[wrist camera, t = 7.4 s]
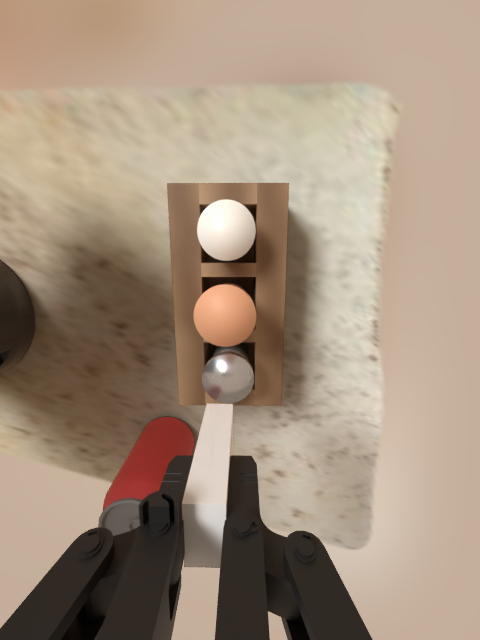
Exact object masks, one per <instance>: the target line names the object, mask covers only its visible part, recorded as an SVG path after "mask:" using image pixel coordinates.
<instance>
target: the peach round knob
mask: <svg viewBox="0 0 480 640" xmlns="http://www.w3.org/2000/svg"><path fill="white" fill-rule="evenodd" d="M194 323H195V326H196V329H197V331H198V332H199V334H200V335H201V336H202V337H203V338H204V339H205V340H206V341H208V342H209V343H211V344H213V345H216V346H221V347H230V346H234V345H237V344H239V343H241V342H243V341H244V340H246V339H247V338H248V337H249V336H250V334H251V333H252V331H253V329H254V327H255V323H256V309H255V306H254V303H253V301H252V299H251V297H250V296H249V295H248V294H247V293H246V291H245V290H244V289H243V288H242V287H241V286H240V285H238V284H235V283H224V284H221V285H216V286H213V287H211V288H210V289H208V290H207V291H205V292H204V293H203V294H202V295H201V296H200V298H199V299H198V301H197V303H196V305H195V308H194Z"/></svg>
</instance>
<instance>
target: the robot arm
mask: <svg viewBox="0 0 480 640" xmlns="http://www.w3.org/2000/svg"><path fill="white" fill-rule="evenodd" d="M33 333H34V314H33V308H32V305H31V302H30V299H29V296H28V294H27V292H26V290H25V288H24V287H23V285H22V283H21V282H20V280H19V279H18V278H17V276H16V275H15V274H14V273H13V272H12V271H11V270H10V269H9V268H8V267H7V266H6V265H5V264H4V263H3V262H1V261H0V372H2V371H4V370H6V369H8V368H10V367H12V366H13V365H15V364H16V363H17V362H18V361H19V360H20V359H21V358H22V357H23V356H24V355H25V353H26V352H27V350H28V348H29V346H30V344H31V341H32V338H33ZM232 448H233V404H207V405H206V409H205V413H204V417H203V421H202V425H201V429H200V433H199V437H198V441H197V445H196V449H195V453H194V456H189V455H176V456H175V457H174V458H173V459H172V460H171V461H170V462H169V464H168V467H167V469H166V472H165V475H164V478H163V481H162V483H161V486H160V489H159V491H156V492H154V493H151V494H149V495H148V496H147V497H145V498H144V499H143V500H142V501H141V503H140V505H139V506H138V507H139V519H140V526H139V527H137V528H135V529H134V530H131V531H128V532H125V533H122V534H118V535H115V536H113V535H112V532H111V531H110V530H108V529H107V528H101V527H98V528H94V529H90V530H88V531H87V532H85V533H83V534H81V535H80V536H79V537H78V538H77V539H76V540H75V541H74V542H73V543H72V544H71V545H70V547H69V548H68V549H67V550H66V551H65V553H64V554H63V555H62V556H61V557H60V558H59V560H58V561H57V562H56V563H55V564H54V566H53V567H52V568H51V569H50V570H49V571H48V573H47V574H46V575H45V576H44V577H43V579H42V580H41V581H40V582H39V584H38V585H37V586H36V587H35V588H34V590H33V591H32V592H31V593H30V594H29V595H28V596H27V598H26V599H25V600H24V601H23V602H22V604H21V605H20V606H19V607H18V608H17V609H16V611H15V612H14V613H13V614H12V615H11V617H10V618H9V619H8V620H7V621H6V623H5V624H4V625H3V626H2V627H1V628H0V640H171V636H172V632H173V626H174V621H175V615H176V610H177V604H178V600H179V594H180V589H181V570H182V565H183V560H184V567H212V568H213V567H214V568H220V579H219V593H218V606H217V620H216V632H215V640H270V639H269V624H268V611H269V612H272V613H274V614H276V615H278V616H281V618H282V621H283V625H284V628H285V632H286V635H287V638H288V640H372V638H371V636H370V634H369V632H368V630H367V628H366V626H365V624H364V622H363V621H362V619H361V617H360V615H359V613H358V611H357V609H356V607H355V605H354V603H353V601H352V599H351V597H350V595H349V594H348V591H347V589H346V588H345V586H344V584H343V582H342V580H341V578H340V576H339V574H338V572H337V571H336V568H335V566H334V564H333V562H332V560H331V559H330V557H329V555H328V553H327V551H326V549H325V547H324V545H323V544H322V543H321V541H320V540H319V539H318V538H317V537H316V536H314V535H313V534H312V533H309V532H306V531H295V532H293V533H291V534H290V535H289V536H288V537H284V536H281V535H278V534H276V533H274V532H272V531H271V530H269V529H268V528H267V527H266V526H265V525H264V523H263V522H262V519H261V517H260V509H259V494H258V479H257V464H256V463H255V461H254V459H253V458H252V456H232Z"/></svg>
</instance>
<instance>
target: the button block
mask: <svg viewBox="0 0 480 640" xmlns="http://www.w3.org/2000/svg"><path fill="white" fill-rule="evenodd" d="M167 191H168V210H169V228H170V247H171V265H172V284H173V303H174V321H175V340H176V358H177V377H178V396H179V405H207V404H233V405H281V398H282V370H283V342H284V313H285V285H286V257H287V228H288V200H289V183H167ZM225 199H227V200H234V201H237V202H239V203H241V204H242V205H244V206H245V207H246V208H247V209H248V210H249V212H250V213H251V215H252V217H253V219H254V222H255V227H256V234H255V239H254V242H253V244H252V246H251V248H250V249H249V251H248V252H247V253H246V254H245V255H243V256H242V257H240V258H238V259H235V260H231V261H222V260H218V259H215V258H213V257H212V256H210V255H209V254H208V253H206V251H205V250H204V249H203V248H202V246H201V244H200V242H199V239H198V235H197V225H198V221H199V218H200V215H201V214H202V212H203V211H204V210H205V208H206V207H208V206H209V205H210V204H212V203H214V202H216V201H219V200H225ZM224 283H235V284H238V285H240V286H241V287H242V288H243V289H244V290H245V291H246V293H247V294H248V295H249V296H250V297H251V299H252V301H253V303H254V306H255V309H256V323H255V327H254V329H253V331H252V333H251V334H250V336H249V337H248V338H247V339H246V340H244V341H243V342H244V343H245V344H246V346H247V349H248V361H249V363H250V364H251V366H252V369H253V373H254V384H253V387H252V390H251V392H250V393H249V394H248V395H247V396H246V397H245V398H244V399H242V400H240V401H238V402H235V403H222V402H219V401H216V400H214V399H213V398H212V397H210V396H209V395H208V394H207V392H206V391H205V389H204V387H203V383H202V374H203V371H204V368H205V365H206V363H207V362H208V361H209V360H210V358H212V357H213V355H214V351H215V348H216V345H213V344H211V343H209V342H208V341H206V340H205V339H204V338H203V337H202V336H201V335H200V334H199V332H198V331H197V329H196V326H195V323H194V308H195V305H196V303H197V301H198V299H199V298H200V296H201V295H202V294H203V293H204V292H205V291H207V290H208V289H210V288H211V287H213V286H216V285H221V284H224Z"/></svg>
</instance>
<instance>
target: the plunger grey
mask: <svg viewBox="0 0 480 640" xmlns="http://www.w3.org/2000/svg"><path fill="white" fill-rule="evenodd" d="M202 383H203V387H204V389H205V391H206V392H207V394H208V395H209V396H210V397H212V398H213V399H214V400H216V401H219V402H222V403H235V402H238V401H240V400H242V399H244V398H245V397H246V396H247V395H248V394H249V393H250V392H251V390H252V387H253V384H254V373H253V369H252V366H251V364H250V363H249V361H248V349H247V346H246V344H245V343H244V342H241V343H239V344H237V345H234V346H230V347H221V346H216V348H215V351H214V355H213V357H212V358H210V360H209V361H208V362H207V363H206V365H205V368H204V371H203V374H202Z"/></svg>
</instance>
